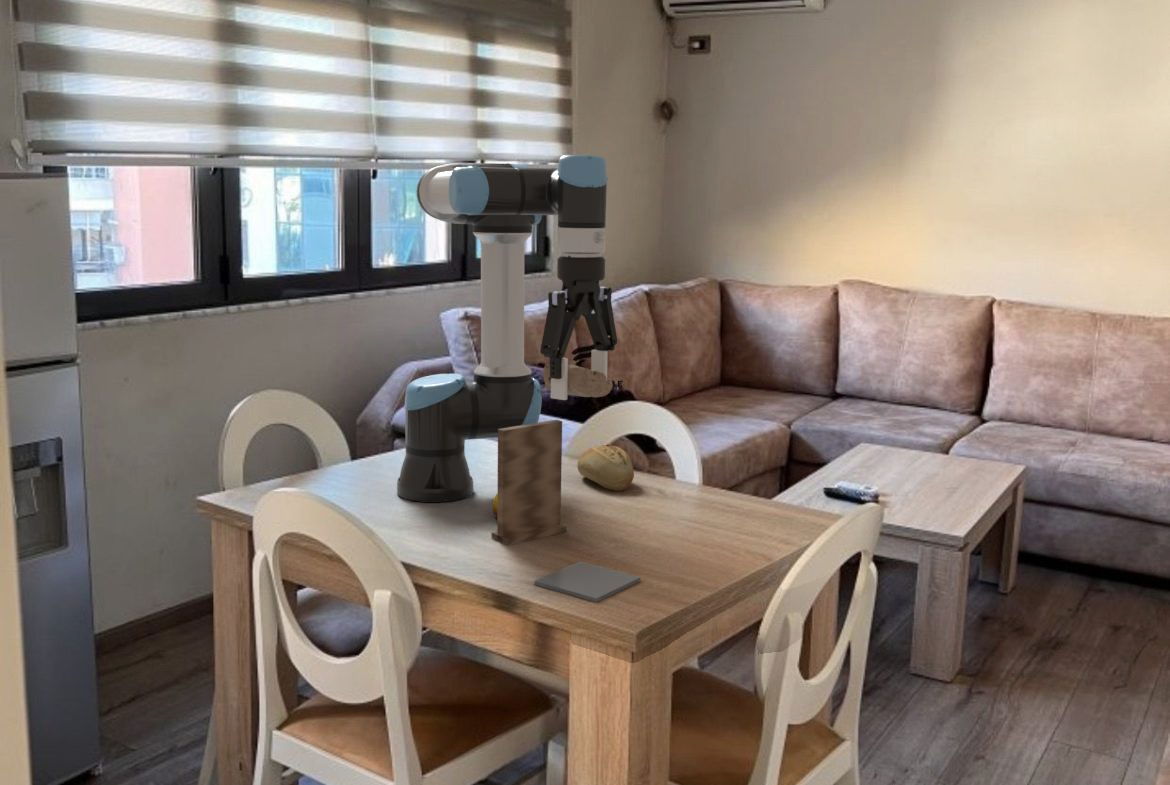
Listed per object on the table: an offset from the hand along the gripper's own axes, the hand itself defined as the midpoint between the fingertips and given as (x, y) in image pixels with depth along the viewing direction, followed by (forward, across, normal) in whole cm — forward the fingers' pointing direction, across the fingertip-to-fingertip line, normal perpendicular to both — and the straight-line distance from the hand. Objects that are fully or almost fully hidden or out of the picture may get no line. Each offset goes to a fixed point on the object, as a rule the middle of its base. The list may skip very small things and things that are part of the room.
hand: (579, 394), depth 189 cm
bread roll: (+28, +45, +26) cm, 59 cm away
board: (+28, +8, +16) cm, 34 cm away
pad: (+29, -5, -6) cm, 30 cm away
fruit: (+29, +15, +24) cm, 40 cm away
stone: (0, -1, 0) cm, 1 cm away
